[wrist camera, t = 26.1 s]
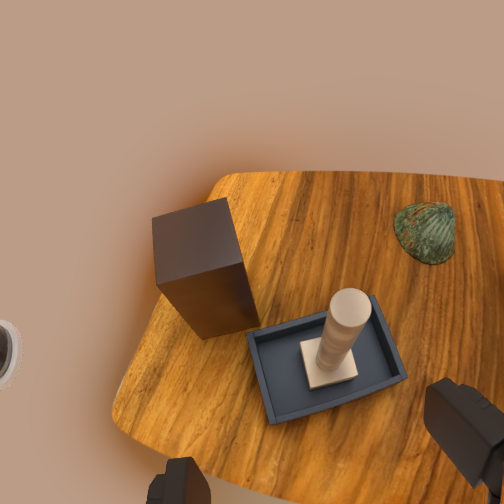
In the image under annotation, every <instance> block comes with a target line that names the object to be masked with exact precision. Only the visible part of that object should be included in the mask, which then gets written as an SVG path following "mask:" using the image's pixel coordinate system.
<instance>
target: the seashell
mask: <svg viewBox="0 0 504 504" xmlns="http://www.w3.org/2000/svg"><path fill="white" fill-rule="evenodd" d="M454 227H455V213H454V211H453V209H452V208H451V207H450V206H449V205H447V204H444V203H440V202H425V203H421V204H419V203H418V204H412V205H409V206H407V207H405V209H403V210H402V211H401V212H400V213H398V214H397V218H396V219H395V220H394V229H395V234H396V235H397V236H398V240H399V241H400V242H401V245H402V246H403V247H404V249H405V250H406V251H407V252H409V253H410V255H412V256H413V257H415V258H416V259H419V260H420V261H422V262H423V263H427V264H429V263H430V264H440V263H442V262H445V261H446V260H447V259H448V258H449V257H450V256H451V255H452V254H453V252H454V250H455V235H454Z"/></svg>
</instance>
